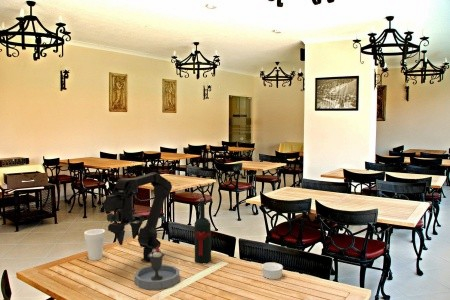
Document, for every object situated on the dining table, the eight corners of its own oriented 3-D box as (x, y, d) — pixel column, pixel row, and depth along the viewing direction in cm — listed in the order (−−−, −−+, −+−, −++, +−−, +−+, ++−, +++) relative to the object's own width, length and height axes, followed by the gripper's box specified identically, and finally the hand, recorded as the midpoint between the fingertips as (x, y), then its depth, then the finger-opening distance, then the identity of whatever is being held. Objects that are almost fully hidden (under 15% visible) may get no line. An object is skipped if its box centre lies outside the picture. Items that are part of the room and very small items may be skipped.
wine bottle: (192, 265, 176) (190, 200, 174) (196, 257, 186) (195, 196, 184) (209, 266, 175) (208, 201, 173) (212, 258, 185) (211, 196, 183)
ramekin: (285, 273, 166) (285, 264, 166) (279, 281, 158) (279, 271, 158) (265, 270, 170) (265, 261, 169) (258, 278, 162) (258, 268, 161)
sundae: (161, 282, 156) (160, 246, 155) (146, 281, 157) (145, 245, 156) (167, 275, 162) (166, 241, 161) (152, 274, 164) (151, 240, 163)
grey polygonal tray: (152, 269, 173) (152, 262, 172) (187, 275, 165) (187, 268, 165) (126, 284, 156) (125, 277, 156) (163, 293, 149) (162, 285, 148)
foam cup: (98, 253, 194) (97, 227, 193) (109, 256, 188) (108, 230, 187) (81, 258, 186) (80, 232, 185) (92, 262, 181) (91, 235, 180)
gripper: (124, 201, 181) (126, 233, 183) (96, 210, 164) (98, 246, 166) (144, 203, 177) (145, 236, 178) (118, 212, 160) (119, 249, 161)
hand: (127, 241), depth 171 cm, fingers open, 9 cm apart
